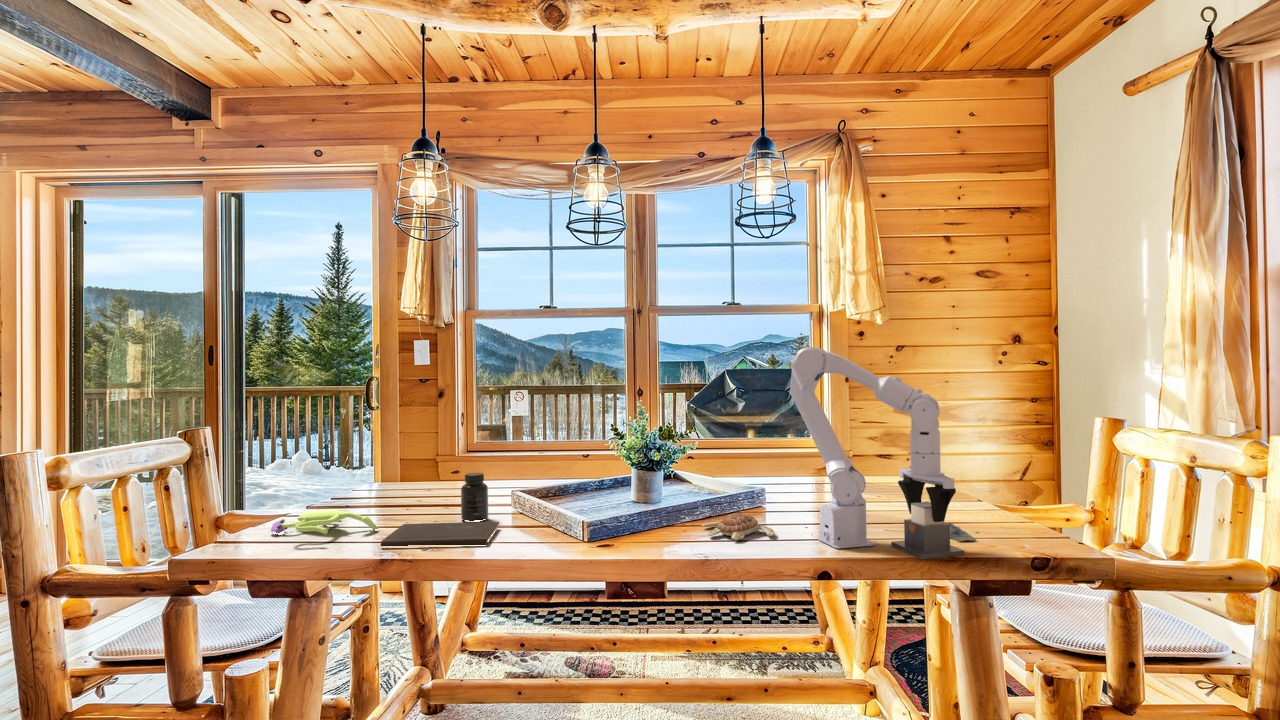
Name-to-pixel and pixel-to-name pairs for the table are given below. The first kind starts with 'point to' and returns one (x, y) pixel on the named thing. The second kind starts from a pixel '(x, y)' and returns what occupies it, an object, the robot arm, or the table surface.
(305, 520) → the figurine
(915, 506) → the post
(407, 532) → the hardcover book
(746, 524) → the decorative turtle
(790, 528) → the table surface
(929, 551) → the sleeve stand
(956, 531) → the driftwood
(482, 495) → the supplement bottle
